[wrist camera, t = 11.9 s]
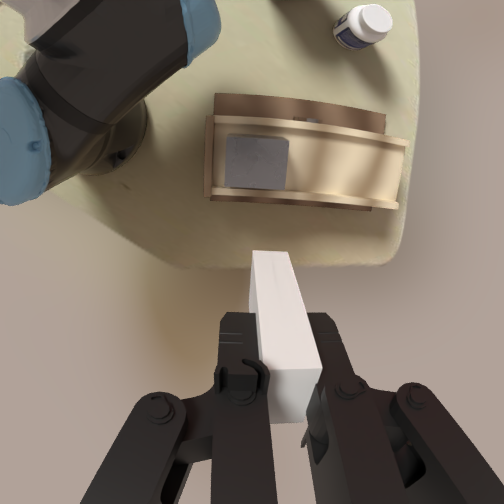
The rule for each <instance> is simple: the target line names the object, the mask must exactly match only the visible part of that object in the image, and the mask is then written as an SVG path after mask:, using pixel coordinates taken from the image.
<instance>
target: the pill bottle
mask: <svg viewBox="0 0 504 504" xmlns="http://www.w3.org/2000/svg"><path fill="white" fill-rule="evenodd" d="M392 26H393V20H392V17H391V15H390V13H389V12H388V11H387V10H386V9H385V8H384V7H382V6H380V5H377V4H369V5H367V6H366V5H360V6H356V7H354V8H353V9H351V10H350V11H349V12H348V13H346V14H345V15H344V16H343V17H341V18H340V19H339V20H338V21H337V22H336V23H335V25H334V27H333V34H334V37H335V39H336V41H337V42H338V43H339V44H340V45H341V46H342V47H344V48H346V49H349V50H360V49H362V48H365V47H367V46H369V45H371V44H374V43H376V42H379V41H381V40H382V39H384V38H385V36H386V35H387V32H388V31H390V30H391V28H392Z"/></svg>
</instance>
